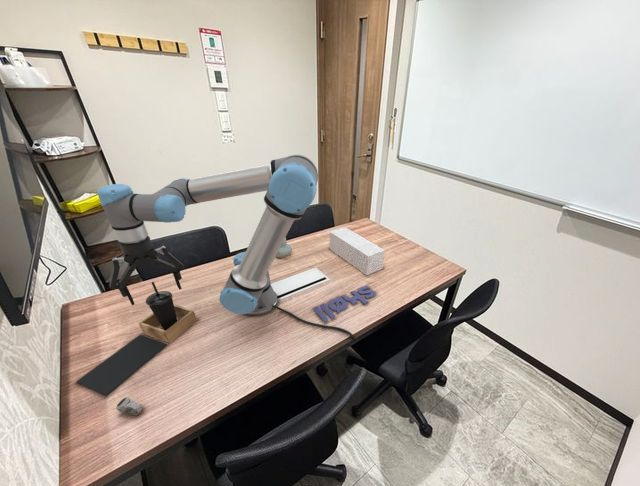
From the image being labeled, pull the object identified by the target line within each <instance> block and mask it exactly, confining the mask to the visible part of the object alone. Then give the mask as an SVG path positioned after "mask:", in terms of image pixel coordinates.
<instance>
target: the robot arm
mask: <svg viewBox="0 0 640 486" xmlns="http://www.w3.org/2000/svg"><path fill="white" fill-rule="evenodd" d="M318 180H319V172H318V168H317V167H316V165H315V163H314V162H313V160H311V159H310V158H308V157H307V156H304V155H302V154H301V155H300V154H292V155H288V156H285V157H280V158H275V159H271V160H270V161H268V164H263V165H259V166H253V167H247V168H243V169H237V170H231V171H226V172H221V173H215V174H210V175H205V176H199V177H194V178H186V177H185V178H184V177H181V178H178V179H175V180H172V181H171V182H170V183H169V184H167V185H166V186H164V187H163V188H160V189H159V190H157V191H155V192H154V193H134V191H133V189H132V187H131V186H130V185H129V184H124V183H113V184H107V185H104V186H103V185H102V186H101V187H99V188H98V189H97V191H96V192H97V196H98V199H99V202H100V206H101V207H102V209H103V211H104V213H105V216H106V217H107V219H108V221H109V224H110V226H111V229H112V231H113V233H114V236H115V238H116V240H117V242H118V245H119V247H120V249H121V251H122V253H123V256H120V257H116V256H113V257H111V260H112V269H111V274H110V278H109V283H108V286H109V289H110V290H111V291H114V290H118V291H119V293H120V295H121V297H122V298H126V297H127V298H128V300H129V302H130V304H131V306H134V305H135V300H134V298H133V296H132V294H131V292H130V290H129V288H128V286H127V283H128V281H129V280H130V278H131V276H132V274H133V272H135V270H136V268H139V269H141V268H143V267H146V266H147V267H148V266H152V264H154V265H157V266H160V267H163V268H165V269H167V270H169V271H171V272H172V275H173V278H174V282H175V284H176V286H177V289H178V290H179V291H180V290H182V289H183V288H182V286H181V283H180V281H181V280H183V277H182V275H181V274H182V273H181V271H182V270H185V268H186V266H185V265H184V264H183V262H181V261H180V260H179V259H178V258H177V257H175V256H174V255H173V254H172V253H171V252H169V251H168V249H167V248H166V246H165V245H160V247H158V248H155V247H154V245H153V243H152V240H151V237H150V236H149V232H148V228H147V227H146V226H147V225H146V224H145V222H152V223H153V222H154V223H166V224H167V223H178V222H181V221H183V220H184V218H185V215H186V211H187V210H186V207H187V206H189V205H196V204H200V203H205V202H211V201H217V200H218V201H219V200H224V199H227V198H229V199H230V198H234V197H239V196H245V195H250V194H255V193H261V192H266V193H265V195H264V196H263V202H264V204H265V209H264V211H263V213H262V216H261V217H260V220H259V222H258V224H257V226H256V228H255V231H254V233H253V235H252V238H251V240H250V241H249V244H248V246H247V248H246V250H245V251H242V252H239V253H237V254H235V255H234V256H233V259H232V260H233V262H232V263H233V265H234V267H232V269H231V272H230V274H229V276H228V278H227V280H226V283H225V284H224V286H223V289H221V290H220V294H219V297H218V298H219V299H218V301H219V303H220V305H221V306H222V307H223V308H224V310H226V311H228V312H230V313H231V314H232V313H233V314H236V315H247V316H260V315H264V314H267V313H269V312H271V311H272V310H274V309H276V310H278V311H280V312H282V313H284V314H286V315H289V316H291V317H292V318H294V319H296V321H299V322H301V323H304V324H306V325H310V326H314V327H318V328H323V329H329V330H335V331H340V332H343V333H345V334H347V335H348V336H350V337H351V338H352V340H353V341H357V338H356V337H355V335H354V334H352V333H351V332H350V331H349V330H347V329H344V328H342V327H337V326H332V325H326V324H321V323H316V322H311V321H308V320H305V319H302V318H300V317H298V316H297V315H295V314H293V313H292V312H290V311H288V310H286V309H284V308H281V307H280V306H277V304H278V295H277V293H276V292H275V291H274V288H273V286H272V283H271V277H270V271H269V270H270V268H271V266H272V264H273V263H274V260H275V258H276V254H277V253H278V251H279V249H280V247H281V245H282V243H283V241H284V239H285V237H286V238H287V235H288V234H289V231H290V229H291V228H292V226H293V224H294V222H295V221H298V220H301V219H302V218H303V216H304V214H305V212H306V211H307V209H308V208H309V207H310V205H311V204H312V203H313V201H314V200H315V197H316V194H317V185H318ZM158 254H160V255H164V256H165V258H167V259H168V260H170V262H172V263H173V264H172V263H170V262H167V261H165V260H164V259H161V258H159V256H158ZM123 262H125V263H127V267H126V269H125V270H124V272H123V274H122V275H121V277H120V278H119V273H120V270H121V269H120V267H121V266H122V265H123ZM174 264H175V265H174ZM118 279H119V280H118Z"/></svg>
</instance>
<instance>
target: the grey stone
mask: <svg viewBox="0 0 640 486" xmlns="http://www.w3.org/2000/svg"><path fill="white" fill-rule="evenodd" d="M143 408H144V406H143V405H142V404H140V403H139V402H136V401H135V400H133V399H132V398H130V397H129V396H126V397H123V398H122V399H121V400H120V401H119V402H118V403H117V404H116V407H115V409H116V411H118V412H120V413H121V414H123V415H124V414H125V415H128V416H137V415H139V414H140V413H141V412H142V410H143Z"/></svg>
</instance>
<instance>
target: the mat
mask: <svg viewBox="0 0 640 486" xmlns="http://www.w3.org/2000/svg"><path fill="white" fill-rule="evenodd" d="M166 347H168V344H167V343H166V342H162V341H161V340H160V341H159V340H158V339H157V340H156V339H154V338H152V337H148V336H145V335H143V334H139V335H137V336H136V337H135V338H133V339H132V340H131V341H130V342H128V343H127V344H126V345H124V346H123V347H121V348H120V349H119V350H117V351H116V352H114V353H113V354H112V355H110V356H109V357H107V358H106V359H105V360H103V362H101V363H99V364H98V365H97V366H95V367H94V368H93V369H92V370H90V371H89V372H87V373H86V374H84V375H83V376H82V377H80V378H79V379H78V380H76V384H78V385H81V386H83V387H85V388H88V389H90V390H92V391H94V392H97V393H99V394H101V395H104V396H106V397H107V396H109V395H110V394H111V393H112V392H113V391H115V390H116V389H117V388H118V387H119V386H121V385H122V384H123V383H124V382H126V380H128V379H129V378H130V377H132V376H133V375H135V373H136V372H138V371H139V370H140V369H141V368H142V367H143V366H145V365H146V364H147V363H148V362H150V361H151V360H152V359H153V358H154V357H155V356H156V355H158V354H159V353H160V352H161V351H163V350H164V349H165V348H166Z"/></svg>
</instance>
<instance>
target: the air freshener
mask: <svg viewBox="0 0 640 486" xmlns="http://www.w3.org/2000/svg"><path fill="white" fill-rule="evenodd" d="M292 252H293V248H292V246H291V244H289V243H288V242H287V236H286V237H285V239H284V241H283V243H282V245H281V247H280V249H279V251H278V253H277V254H276V256H275V258H281V259H282V258H287V257H288V256H290V255H291V254H292Z"/></svg>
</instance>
